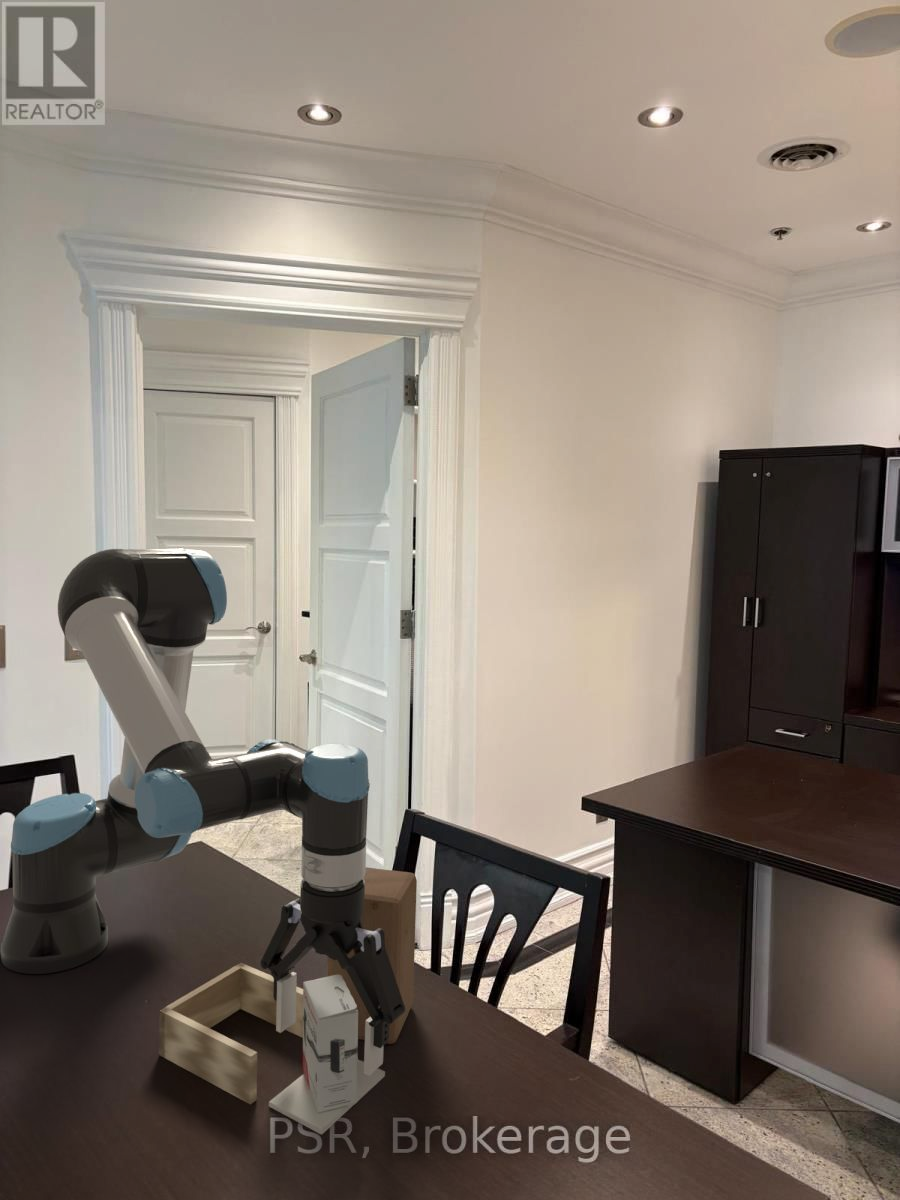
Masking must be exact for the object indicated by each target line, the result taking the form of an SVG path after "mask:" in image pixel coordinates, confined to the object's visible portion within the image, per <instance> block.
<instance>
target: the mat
mask: <svg viewBox="0 0 900 1200" xmlns="http://www.w3.org/2000/svg"><path fill="white" fill-rule="evenodd" d="M385 1076H386V1071H384V1070H382V1069H381V1068H379V1067H378V1068H377V1069H376V1070H375V1071H374V1072H373V1073H372V1074H371V1075H369V1076H368V1075H366V1074H364V1060H360V1059H359V1058H358V1071H357V1102H359V1101H360V1100H361V1099H362V1098H363V1097H365V1095H366V1094H367V1093H368V1092H370V1091H371V1090H372V1089H373V1088H374V1087H375V1086H376V1085H377V1084H378V1083H379V1082H380V1081H381V1080H382V1079H383V1078H385ZM354 1105H355V1104H352V1105H348V1106H344V1107H340V1108H336V1109H331V1110H327V1111H323V1112H318V1111H317V1108H316V1105H315V1103H314V1100H313V1097H312V1094H311V1091H310V1088H309V1085H308V1083H307V1080H306V1077H305V1074H304V1073H303V1074H301V1075H300V1076H299V1077H298V1078H296V1079H295V1080H294V1081H293V1082H292V1083H290V1084H289V1085H288V1086H287V1087H285V1088H284V1089H283V1090H282V1091H281V1092H279V1093H278V1094H277V1095H275V1096H274V1097H273V1098H272V1099H270V1100H269V1101H268V1107H269V1108H271V1109H273V1110H275V1111H276V1112H278V1113H280V1114H282V1115H284V1116H286V1117H288V1118H290V1119H292V1120H293V1121H295V1122H297V1123H298V1124H301V1125H303V1126H305V1127H306V1128H308V1129H310V1130H312V1131H314V1132H315V1133H316V1134H319V1135H321V1136H322V1135H323V1134H325V1132H326V1131H327V1130H329V1129H330V1127H332V1126H333V1125H334V1124H335V1123H336V1122H337V1121H338V1120H339V1119H340V1118H341V1117H342V1116H344V1115H345V1114H346V1113H347V1112H348V1111H349V1110H350V1109H351V1108H352V1107H353V1106H354Z"/></svg>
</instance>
